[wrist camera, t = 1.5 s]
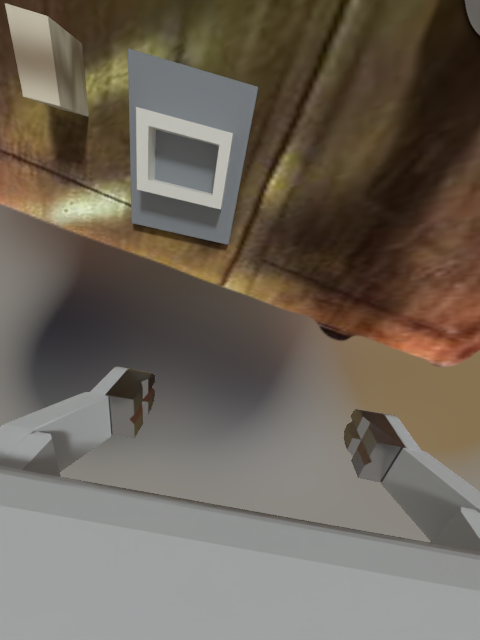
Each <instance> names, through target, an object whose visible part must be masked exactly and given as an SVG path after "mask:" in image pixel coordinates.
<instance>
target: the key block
mask: <svg viewBox="0 0 480 640" xmlns="http://www.w3.org/2000/svg"><path fill="white" fill-rule="evenodd" d="M5 6H6V11H7V16H8V21H9V26H10V31H11V36H12V42H13V47H14V52H15V57H16V62H17V67H18V72H19V77H20V82H21V87H22V92H23V97H26V98H29V99H32V100H35V101H38V102H41V103H43V104H46V105H49V106H52V107H55V108H58V109H61V110H65V111H69V112H73V113H76V114H80V115H84V116H88V117H89V114H88V103H87V92H86V82H85V71H84V60H83V49H82V43H80V42H79V41H78V40H77V39H75V38H74V37H73V36H72V35H70V34H69V33H68V32H67V31H65V30H64V29H63V28H62V27H61V26H59V25H58V24H57V23H56V22H54V21H53V20H52V19H51V18H49V17H48V16H45V15H42V14H39V13H35V12H32V11H29V10H25V9H22V8H19V7H15V6H12V5H9V4H6V3H5Z"/></svg>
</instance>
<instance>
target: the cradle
mask: <svg viewBox="0 0 480 640" xmlns="http://www.w3.org/2000/svg"><path fill="white" fill-rule="evenodd" d="M128 71H129V117H130V163H131V208H132V223H134V224H138V225H143V226H147V227H151V228H156V229H160V230H165V231H169V232H174V233H178V234H183V235H187V236H192V237H196V238H200V239H205V240H209V241H214V242H218V243H223V244H227V245H228V244H229V239H230V233H231V228H232V223H233V217H234V212H235V207H236V202H237V196H238V191H239V186H240V180H241V175H242V170H243V164H244V159H245V154H246V149H247V143H248V138H249V133H250V127H251V122H252V117H253V112H254V106H255V101H256V96H257V90H258V87H256V86H253V85H249V84H246V83H243V82H239V81H236V80H233V79H229V78H226V77H222V76H219V75H216V74H212V73H209V72H206V71H202V70H199V69H196V68H192V67H189V66H186V65H182V64H179V63H175V62H172V61H169V60H165V59H162V58H159V57H155V56H152V55H149V54H145V53H142V52H138V51H135V50H132V49H128Z"/></svg>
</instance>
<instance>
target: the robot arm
mask: <svg viewBox="0 0 480 640" xmlns="http://www.w3.org/2000/svg"><path fill="white" fill-rule="evenodd" d="M465 5H466V11H467V14H468V18H469V20H470V23H471V25H472V26H473V28H474V30H475V31H476V32H477V33H478V34H479V35H480V0H465ZM154 383H155V375H154V374H153V373H148V372H143V371H138V370H133V369H127V368H122V367H115V368H113V369H112V370H111V371H110V372H109V373H108V374H107V375H106V376H105V377H104V378H103V379H102V380H101V382H100V383H99V384H97V386H96V387H95V388H94V389H93V390H92V391H91V392H90V393H89V392H84V393H82V394H79V395H77V396H74V397H72V398H69V399H67V400H64V401H61V402H59V403H56V404H54V405H51V406H49V407H46V408H44V409H41V410H39V411H36V412H34V413H31V414H29V415H26V416H24V417H21V418H19V419H16V420H14V421H11V422H9V423H6V424H4V425H2V426H1V427H0V640H480V492H479V491H478V490H476V489H475V488H474V487H472V486H471V485H470V484H468V483H467V482H466V481H464V480H463V479H462V478H460V477H459V476H458V475H456V474H455V473H453V472H452V471H451V470H450V469H448V468H447V467H445V466H444V465H443V464H441V463H440V462H439V461H437V460H436V459H435V458H433V457H432V456H431V455H429V454H428V453H427V452H423V451H421V449H420V448H419V447H418V445H417V444H416V442H415V441H414V440H413V438H412V437H411V435H410V434H409V433H408V431H407V430H406V428H405V427H404V426H403V424H402V423H401V421H400V420H399V419H398V418H397V417H396V416H395V415H390V414H383V413H375V412H369V411H364V410H358V409H355V410H354V411H353V413H352V415H351V418H352V422H351V423H349V424H347V426H346V428H345V431H344V441H345V445H346V448H347V450H348V451H349V452H350V453H351V454H352V455H353V458H352V460H351V461H352V463H353V466H354V469H355V471H356V474H357V476H358V478H362V479H367V480H372V481H377V482H381V484H382V485H383V487H384V488H385V489H386V490H387V491H388V492H389V493H390V494H391V496H392V497H393V498H394V499H395V500H396V502H397V503H398V504H399V505H400V506H401V507H402V509H403V510H404V511H405V512H406V513H407V514H408V515H409V517H410V518H411V519H412V520H413V521H414V522H415V523H416V525H417V526H418V527H419V528H420V529H421V531H422V532H423V533H424V534H425V535H426V536H427V537H428V539H429V540H430V541H431V542H430V543H429V542H423V541H417V540H412V539H406V538H401V537H395V536H390V535H384V534H378V533H373V532H367V531H361V530H355V529H350V528H344V527H339V526H332V525H327V524H322V523H316V522H310V521H305V520H298V519H293V518H288V517H282V516H277V515H271V514H265V513H260V512H254V511H249V510H243V509H238V508H232V507H226V506H221V505H215V504H210V503H204V502H199V501H193V500H188V499H182V498H176V497H171V496H165V495H159V494H154V493H148V492H143V491H137V490H131V489H126V488H120V487H115V486H109V485H103V484H98V483H92V482H86V481H81V480H75V479H70V478H64V477H60V472H61V471H62V470H63V469H65V468H66V467H68V466H69V465H71V464H72V463H74V462H75V461H76V460H78V459H79V458H81V457H82V456H84V455H85V454H86V453H88V452H89V451H91V450H92V449H94V448H95V447H96V446H98V445H99V444H101V443H102V442H104V441H105V440H106V439H108V438H109V437H111V435H117V436H124V437H131V438H135V436H136V435H137V433H138V431H139V430H140V428H141V426H142V424H143V417H145V416H147V415H148V414H149V412H150V410H151V408H152V405H153V402H154V397H155V390H154V389H153V388H152V386H153V385H154Z"/></svg>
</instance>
